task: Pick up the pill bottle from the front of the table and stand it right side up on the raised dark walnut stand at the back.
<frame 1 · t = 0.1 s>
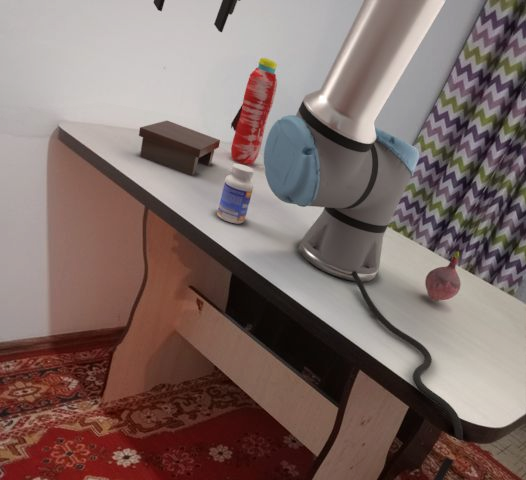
hand: (189, 18, 92), 28 cm above the table, tool tilted 20°, fingers open, 13 cm apart
stand: (177, 160, 109), on the table
pill bottle: (230, 219, 89), on the table
vegetable: (431, 302, 85), on the table
water bottle: (238, 160, 128), on the table
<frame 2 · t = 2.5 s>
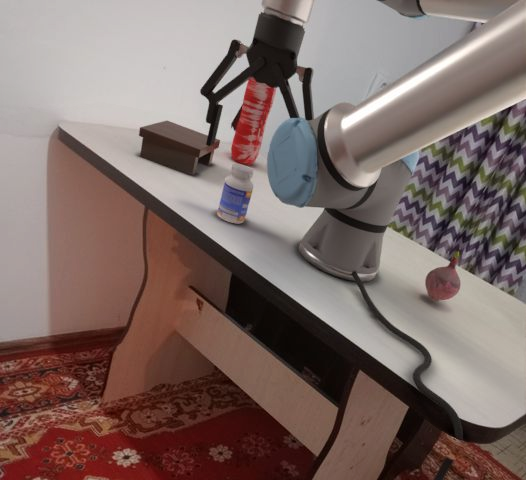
hand: (245, 158, 82), 11 cm above the table, tool pointing down, fingers open, 13 cm apart
nothing on the table moved.
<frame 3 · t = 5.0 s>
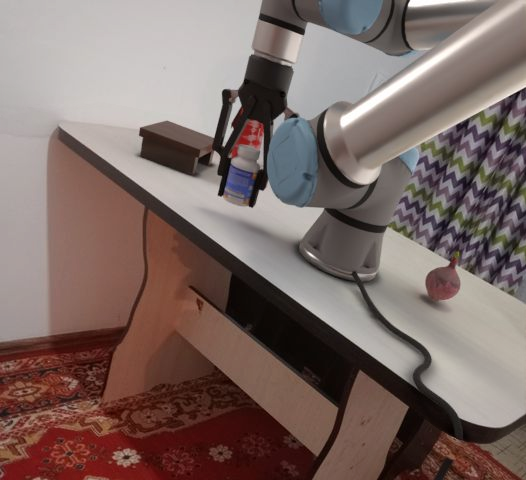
hand: (236, 199, 86), 4 cm above the table, tool pointing down, fingers closed on pill bottle, 5 cm apart
pill bottle: (235, 202, 86), point 3 cm above the table, touching gripper
everything else where it was.
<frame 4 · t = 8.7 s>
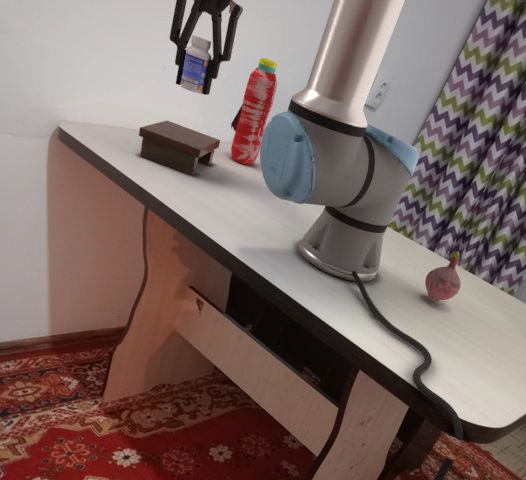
hand: (192, 88, 100), 16 cm above the table, tool pointing down, fingers closed on pill bottle, 5 cm apart
pill bottle: (192, 91, 100), point 15 cm above the table, touching gripper
everything else where it was.
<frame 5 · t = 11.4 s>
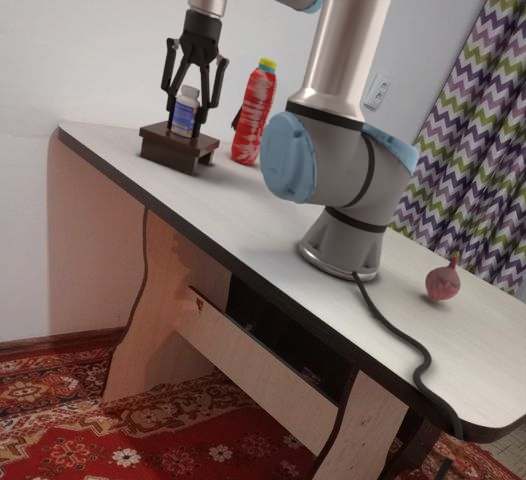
hand: (182, 132, 106), 6 cm above the table, tool pointing down, fingers closed on pill bottle, 5 cm apart
pill bottle: (182, 134, 106), point 6 cm above the table, touching gripper
everything else where it was.
when the fingers open (6 cm above the table, at t = 12.8 s): pill bottle stays where it is, resting on stand.
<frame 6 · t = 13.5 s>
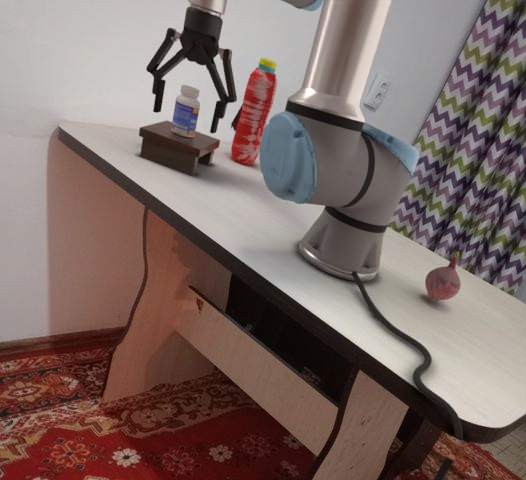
hand: (184, 122, 105), 9 cm above the table, tool pointing down, fingers open, 13 cm apart
pill bottle: (182, 134, 106), point 6 cm above the table, touching stand
everything else where it was.
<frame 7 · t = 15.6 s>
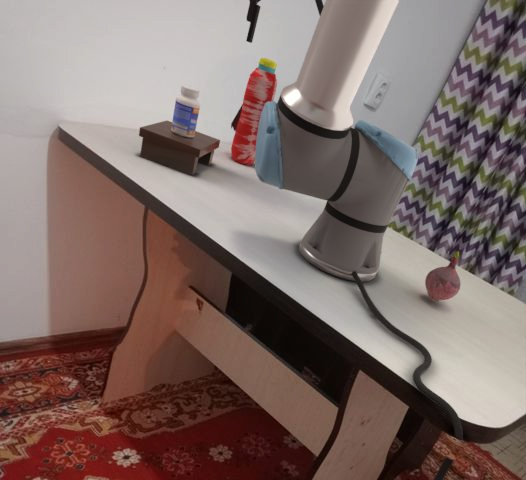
hand: (279, 53, 97), 27 cm above the table, tool pointing down, fingers open, 13 cm apart
nothing on the table moved.
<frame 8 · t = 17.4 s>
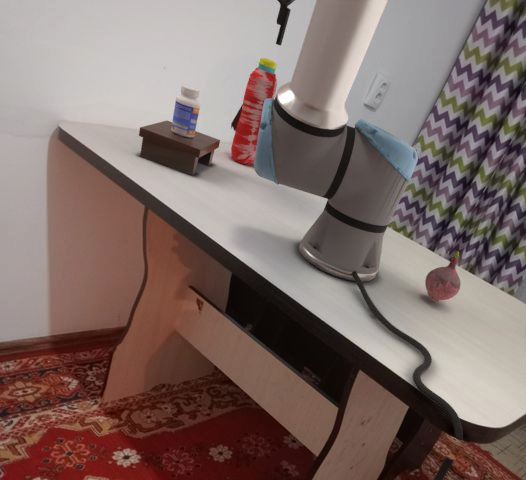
hand: (308, 56, 98), 29 cm above the table, tool pointing down, fingers open, 13 cm apart
nothing on the table moved.
at the end: pill bottle inside the target area on the stand (0.1 cm from its centre), point 5.8 cm above the stand's base; pill bottle tilted 0°; the gripper is holding nothing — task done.
